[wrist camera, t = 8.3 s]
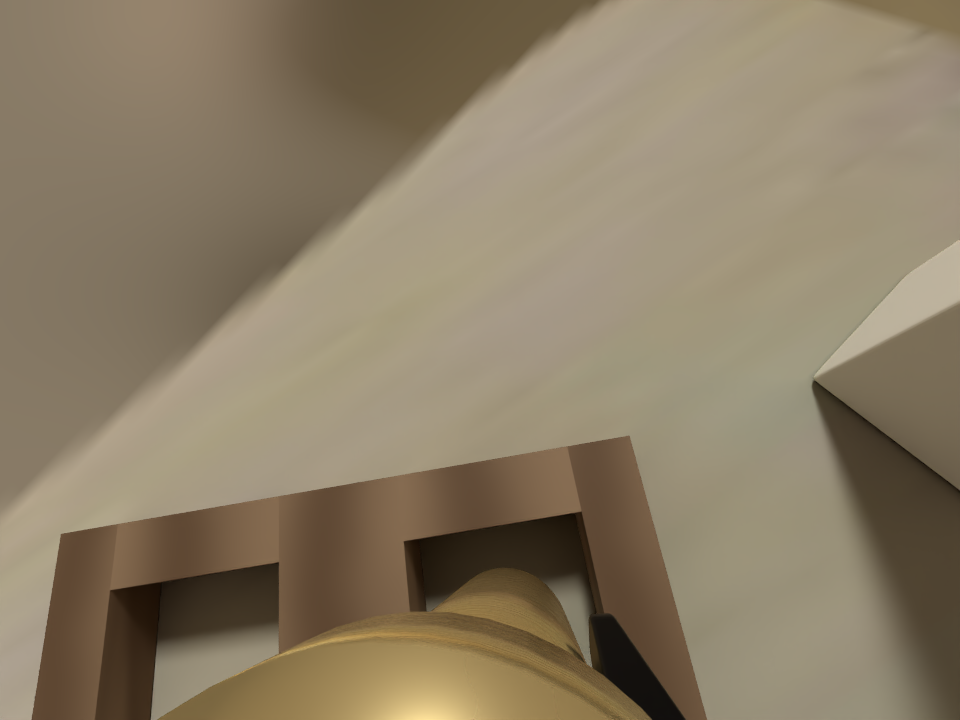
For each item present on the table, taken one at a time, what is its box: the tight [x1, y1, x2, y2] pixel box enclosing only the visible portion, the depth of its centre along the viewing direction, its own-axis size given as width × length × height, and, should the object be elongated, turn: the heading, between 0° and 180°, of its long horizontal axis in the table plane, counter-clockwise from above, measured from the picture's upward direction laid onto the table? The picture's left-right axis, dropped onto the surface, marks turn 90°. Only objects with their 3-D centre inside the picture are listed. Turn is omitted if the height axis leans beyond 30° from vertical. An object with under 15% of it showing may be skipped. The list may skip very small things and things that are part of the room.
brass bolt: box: [158, 568, 652, 720], centre depth 8 cm, size 5×5×14 cm
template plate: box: [32, 436, 707, 720], centre depth 17 cm, size 22×11×2 cm, turn 99°
